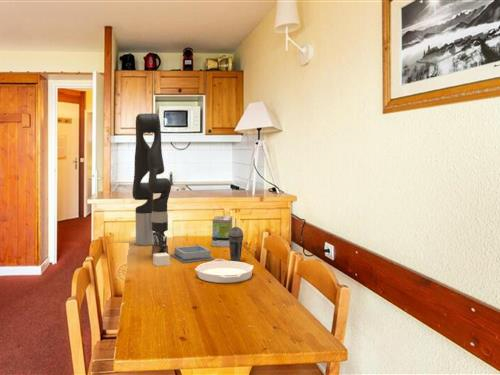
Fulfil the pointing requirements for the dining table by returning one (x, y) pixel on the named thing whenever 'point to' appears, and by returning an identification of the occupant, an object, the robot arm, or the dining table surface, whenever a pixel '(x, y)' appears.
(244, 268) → the pan
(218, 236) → the tea box
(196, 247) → the grey shallow box
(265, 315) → the dining table surface
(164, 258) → the cream block
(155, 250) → the walnut block
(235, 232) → the beverage cup
